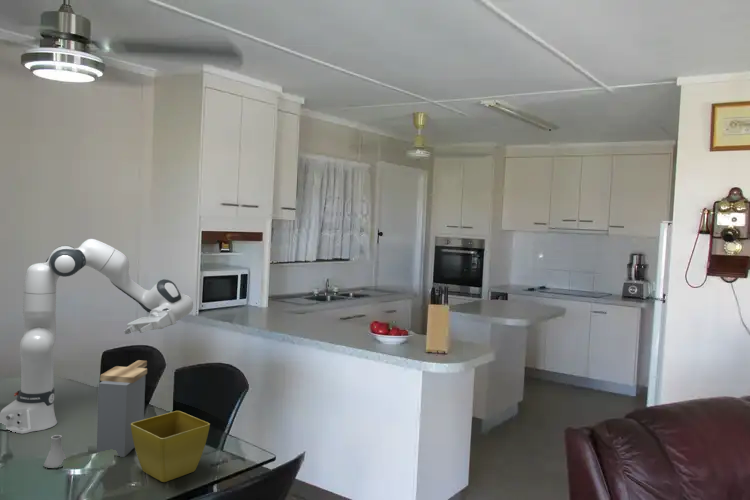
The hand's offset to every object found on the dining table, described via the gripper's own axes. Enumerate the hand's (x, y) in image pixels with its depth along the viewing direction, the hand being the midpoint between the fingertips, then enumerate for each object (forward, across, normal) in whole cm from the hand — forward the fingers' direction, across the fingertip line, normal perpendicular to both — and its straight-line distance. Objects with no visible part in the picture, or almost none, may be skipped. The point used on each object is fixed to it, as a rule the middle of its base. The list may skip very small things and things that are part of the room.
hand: (132, 331), depth 235 cm
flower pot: (+26, +30, +42) cm, 58 cm away
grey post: (+23, +2, +36) cm, 43 cm away
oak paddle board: (+11, +5, +12) cm, 17 cm away
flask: (+45, 0, +29) cm, 53 cm away
